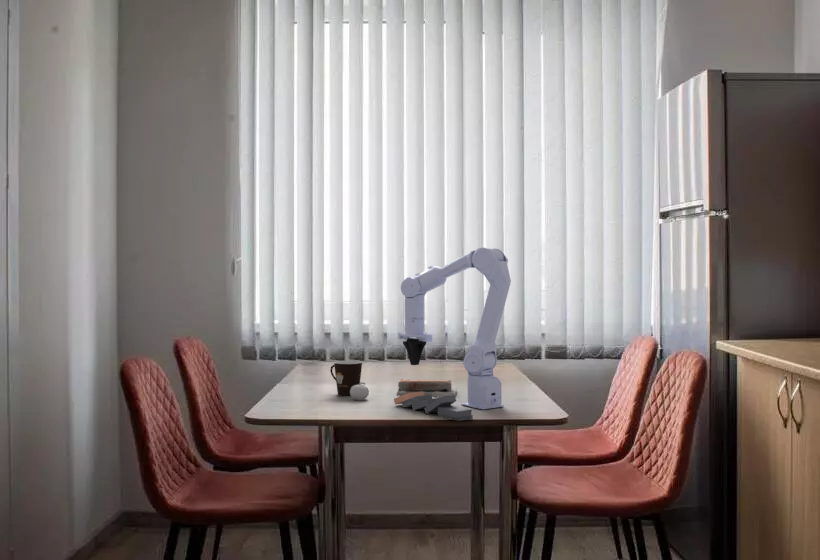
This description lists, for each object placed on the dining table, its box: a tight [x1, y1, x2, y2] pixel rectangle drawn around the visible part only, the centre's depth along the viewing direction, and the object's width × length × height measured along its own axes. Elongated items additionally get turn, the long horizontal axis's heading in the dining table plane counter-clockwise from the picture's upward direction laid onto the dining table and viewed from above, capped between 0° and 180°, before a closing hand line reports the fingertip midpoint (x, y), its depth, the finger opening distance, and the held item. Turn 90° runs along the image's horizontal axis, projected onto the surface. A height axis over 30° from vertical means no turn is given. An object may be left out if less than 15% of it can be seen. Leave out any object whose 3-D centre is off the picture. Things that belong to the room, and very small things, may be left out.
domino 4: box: [423, 395, 457, 415], centre depth 192 cm, size 2×5×8 cm
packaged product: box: [396, 378, 458, 397], centre depth 228 cm, size 18×5×10 cm
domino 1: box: [393, 391, 424, 405], centre depth 205 cm, size 2×5×8 cm
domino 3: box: [411, 397, 438, 411], centre depth 198 cm, size 2×5×8 cm
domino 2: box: [401, 395, 433, 408], centre depth 202 cm, size 2×5×8 cm
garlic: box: [350, 381, 370, 401], centre depth 217 cm, size 6×5×5 cm
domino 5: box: [437, 404, 473, 418], centre depth 188 cm, size 2×5×8 cm
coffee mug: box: [330, 360, 363, 397], centre depth 227 cm, size 12×9×10 cm
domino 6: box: [437, 412, 474, 422], centre depth 189 cm, size 2×5×8 cm
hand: (414, 364), depth 216 cm, fingers closed
